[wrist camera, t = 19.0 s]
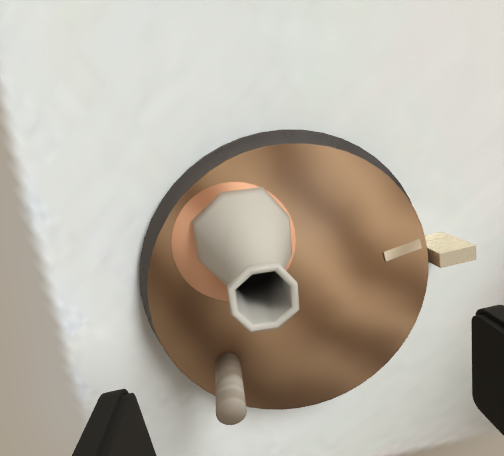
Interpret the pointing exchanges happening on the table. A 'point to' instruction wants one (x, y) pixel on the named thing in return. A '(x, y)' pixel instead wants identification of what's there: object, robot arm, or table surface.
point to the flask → (249, 256)
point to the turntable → (304, 272)
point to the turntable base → (438, 244)
